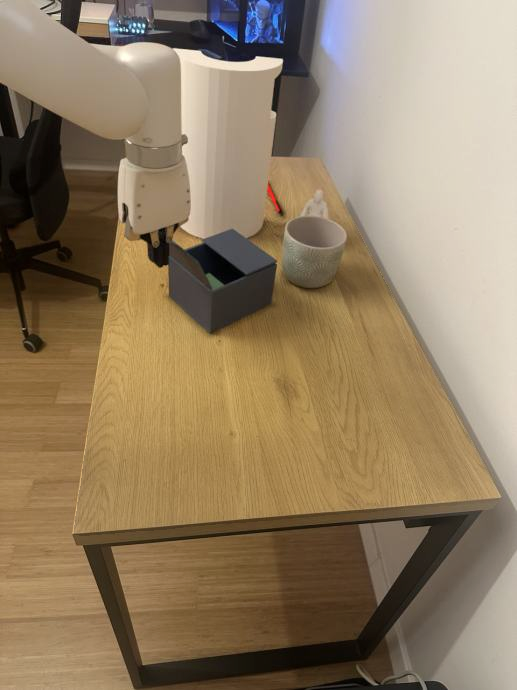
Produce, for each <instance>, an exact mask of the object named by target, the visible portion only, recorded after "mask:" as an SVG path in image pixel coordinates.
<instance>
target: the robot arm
mask: <svg viewBox="0 0 517 690" xmlns="http://www.w3.org/2000/svg"><path fill="white" fill-rule="evenodd" d="M0 84H2V85H4V86H6V87H8V88H10V89H11V90H13V91H15V92H17V93H18V94H19V95H22V96H24V97H25V98H27V99H29V100H30V101H32V102H34V103H36V104H38V105H39V106H41V107H43V108H44V109H46V110H48V111H50V112H52V113H54V114H56V115H57V116H59V117H61V118H64V119H65V120H67V121H69V122H71V123H73V124H75V125H76V126H79V127H81V128H82V129H85V130H86V131H88V132H90V133H92V134H94V135H96V136H98V137H101V138H103V139H107V140H114V141H115V140H118V141H119V140H124V151H125V157H124V158H121V159H120V162H119V167H118V175H117V176H118V177H117V210H118V211H117V212H118V218H119V221H120V223H121V224H125V225H124V233H123V236H124V238H126V239H127V240H128V241H129V242H135V241H140V240H141V241H143V242H145V243H146V247H147V257H148V260H149V261H150V263H153V264H154V265H156V266H157V267H158V268H159V269H162V268H163V267H164V266H165V267H168V265H169V255H170V254H169V243H170V242H171V241H172V240H174V239H173V238H174V234H175V233H176V231H177V230H178V229H179V227H180V226H181V225H183V224H184V223H186V222H187V221H188V220H189V218H188V217H189V215H190V210H191V194H190V182H189V175H188V169H187V165H186V161H185V157H184V156H183V155H182V146H183V145H184V144H187V143H188V138H187V136H186V135H185V134H182V116H181V62H180V58H179V56H178V54H177V53H176V52H175V51H174V50H173V48H172V47H170V46H167V45H165V44H162V43H157V42H148V41H140V42H139V41H138V42H132V43H128V44H125V45H109V44H108V45H107V44H98V43H90V42H88V41H86V40H85V39H84V38H82V37H80V36H79V35H78V34H76V33H75V32H73V31H72V30H70V29H69V28H67V27H66V26H64V25H63V24H61V22H59V21H57V20H56V19H54V18H53V17H52V16H50V15H49V14H48V13H46V12H45V11H44V10H42V9H41V8H39V7H38V6H36V5H35V4H34V3H33V2H31V1H30V0H0Z"/></svg>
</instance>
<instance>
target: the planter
mask: <svg viewBox="0 0 517 690" xmlns="http://www.w3.org/2000/svg"><path fill="white" fill-rule="evenodd" d="M347 241H348V233H347V231H346V230H345V228H344V227H343V226H342V225H340V224H339V223H338V222H336V221H334V220H333V219H330V218H328V219H327V218H324V217H323V216H321V217H320V216H311V215H308V214H306V216H300V215H299V216H296V217H293V218H291V219H290V220H288V221H287V223H285V226H284V234H283V243H282V249H281V251H282V252H281V270H282V273H283V275H284V276H285V278H286V279H287V280H288V281H289V282H291V283H292V284H294V285H295V286H298V287H301V288H306V289H318V288H322V287H325V286H327V285H328V284H330V283H331V282H332V281H333V279H334V278H335V276H336V274H337V272H338V269H339V267H340V264H341V262H342V261H341V260H342V257H343V254H344V250H345V247H346V244H347Z"/></svg>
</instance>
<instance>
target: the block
mask: <svg viewBox="0 0 517 690" xmlns="http://www.w3.org/2000/svg"><path fill="white" fill-rule="evenodd" d="M206 277H207V279H208V281H209V283H210V284H211V286H212V288H213V289H212V290H215V289H217V288H219V287H222V286H224V285H223V284H222V283H221V282H220V281H219V280H217V279H216V278H215V277H214V276H212V275H211V274H210V273H208V274H206Z"/></svg>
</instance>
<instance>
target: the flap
mask: <svg viewBox="0 0 517 690" xmlns="http://www.w3.org/2000/svg"><path fill="white" fill-rule="evenodd" d="M184 249H185V248H183V247H182V246H180V245H179V244H178V243H177V242H175V241H174V239H172V241H171V242H170V243H169V254H170V256H171V257H172V258H173V259H175V260H176V261H177V262H178V263H179V264H180V265H182V266H183V267H184V268H185V269H186V270H188V271H189V272H190V273H191V274H192V275H194V276H195V277H196V278H197V279H198V280H199V281H201V282H202V283H203V284H204V285H205V286H207V287H208V288H209V289H210V290H212V289H213V288H212V286H211V284H210V283H209V281H208V279H207V277H206V275H205V273H204V271H203V269H202V267H201V265H200V263H199V262H198V261H197V260H196V259H195V258H194V257H192V256H191V255H190V254H189V253H188V252H186V251H185V250H184Z"/></svg>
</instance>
